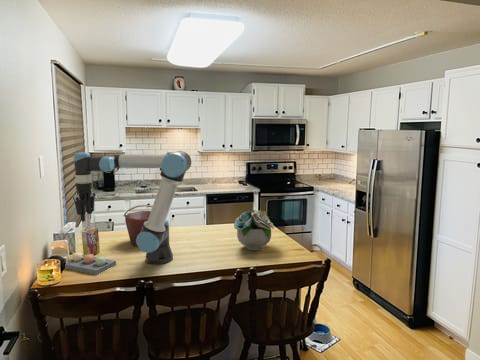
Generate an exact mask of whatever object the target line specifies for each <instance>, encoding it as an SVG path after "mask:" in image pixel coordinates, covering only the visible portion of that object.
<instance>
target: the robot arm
mask: <svg viewBox="0 0 480 360" xmlns="http://www.w3.org/2000/svg"><path fill="white" fill-rule="evenodd" d="M73 159H74V160H73V163H74V174H75V175H74V176H75V190H76V191H77V192H76V196H73V197H72V199H73V201H74V206H75V209H76V210H75V211H76V214H77V215H78V216H80V221H81V227H83V228H88V227H92V221H91V219H92V214H93V212H94V211H95V197H96V195H97V194H96V193H95V192H92V189H93V187H92V184H93V183H92V172H104V173H106V172H112V171H113V170H114V169H161V171H160V174H159V175H160V177H161V180H160V184H159V187H158V189H157V192H156V196H155V199H154V201H153V207H151V210H150V211H151V213H150V216H149V219H148V221H146V222H144V224H143V227H142V230H141V233H140V234H139V235H138V236H137V239H136V244H137V246H138V247H137V246H136V247H137V248H138V249H139V250H140V251H142V252H143V253H146V254H145V262H146V263H147V264H152V265H164V264H168V263H169V262H171V261H173V259H174V254H173V252H172V249H171V246H170V223H169V220H168V219H167V217H168V215H169V211H170V209H171V205H172V203H173V200H174V197H175V195H176V191H177V188H178V187H179V186H178V185H179V184H180V183H182V182H183V180H184V178H185V176H186V173H187V172H188V171H189V169H190V168H191V166H192V158H191V156H190V155H189V154H188V153H187V152H186V151H183V150H177V151H168V152H166V153H164V154H163V153H153V154H152V153H151V154H150V153H149V154H148V153H144V154H143V153H142V154H117V153H111V154H109V155H103V156H102V155H101V156H91V154H90V153H89V152H75V153H74V154H73Z"/></svg>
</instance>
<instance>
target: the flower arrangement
mask: <svg viewBox="0 0 480 360" xmlns="http://www.w3.org/2000/svg"><path fill="white" fill-rule="evenodd" d="M267 215H268V213H267V211H265V210H264V211H263V210H259V209H257V210H255V209H254V210H251V211H250V210H248V211H243V212H241V214H240V215H239V216H238V217H237V218H235V220H234V224H233V228H234V229H235V230H236V234H237V236H236V238H237V240H238V242H239V243H241V244H242V246H244V247H246V249H247V250H249V251H253V252H254V251H260V250H261V249H262V247H265V246H266V245H267V244H268V243H270V241H271V239H272V229H273V230H274V229H275V225H274V223H273V222H271V220H270V216H269V215H268V216H267Z"/></svg>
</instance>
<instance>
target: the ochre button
mask: <svg viewBox="0 0 480 360" xmlns="http://www.w3.org/2000/svg"><path fill="white" fill-rule="evenodd" d="M71 255H72V259H73V262H76V263H78V262H80V261H83V256H82V255H83V251H76V252H73V253H72V254H71Z"/></svg>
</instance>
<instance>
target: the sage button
mask: <svg viewBox="0 0 480 360" xmlns="http://www.w3.org/2000/svg"><path fill="white" fill-rule="evenodd" d="M95 257H96V258H95V263H96V266H97V267H102V266H104V265H106V260H105V259H106V256H104V255H100V256H95Z"/></svg>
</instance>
